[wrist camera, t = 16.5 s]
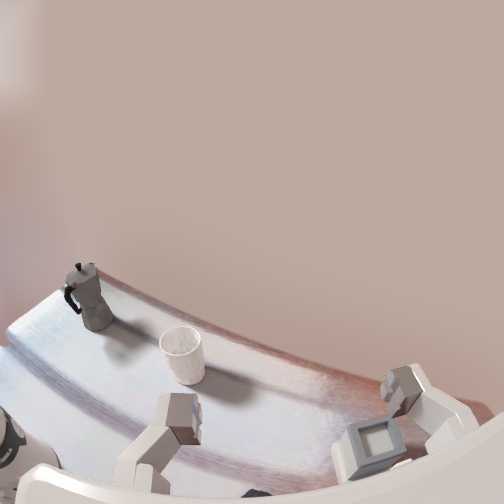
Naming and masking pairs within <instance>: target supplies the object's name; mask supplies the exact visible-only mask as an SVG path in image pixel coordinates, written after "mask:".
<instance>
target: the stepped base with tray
mask: <svg viewBox="0 0 504 504" xmlns="http://www.w3.org/2000/svg"><path fill="white" fill-rule="evenodd" d="M330 449H331V453H332V457H333V462H334V466H335V470H336V475H337V479H338V483H339V485H341V484H345V483H349V482H353V481H356V480H360V479H363V478H367V477H370V476H373V475H376V474H379V473H382V472H385V471H388V470H390V469H391V468H392V464H393V463H395V462H396V461H397V460H398V459H399V458H400V457H401V456H402V455H403V454H404V453H405V452H406V451H407V449H406V446H405V444H404V441H403V439H402V436H401V434H400V431H399V429H398V426H397V424H396V421H395V419H394V418H392V419H391V418H390V416H389V414H388V415H385V416H381V417H378V418H374V419H370V420H366V421H362V422H358V423H354V424H350V425H349V426H348V428H347V429H346V431H345V433H344V435H343V437H342V438H341V440H340V441H339V442H334V443H333V444H332V446H331V448H330Z"/></svg>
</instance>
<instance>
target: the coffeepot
mask: <svg viewBox="0 0 504 504" xmlns="http://www.w3.org/2000/svg"><path fill="white" fill-rule="evenodd" d="M75 266H76V269H75V270H74V271H72V272H70V273H69V274H68V275H67V278H66V281H65V282H66V283H67V285H68V286H67V287H66V288H65V293H64V298H65V300H66V302H67V303H68V304H69V305H70V306H71V307H72V309H73V310H74V311H75V312H76V313H77V314H80V313H81V314H82V318H83V322H84V326H85V327H86V328H87V329H88V330H90V331H99V330H102V329H104V328H106V327H108V326H109V325H110V324H111V322H112V320H113V313H112V312H111V310H110V308H109V307H108V305H107V303H106V302H105V300H104V298H103V297H102V296H101V287H100V282H99V276H98V270H97V267H94V264H93V263H89V264H87V265H85V266H83V267H81V263H77V264H76V265H75ZM71 292H72V294H73V295H74V297H75V299H76V301H78V302H79V303H80V309H78V307H77V305H76V304H75V303H74V302H73V300H72V298H71V296H70V294H71Z"/></svg>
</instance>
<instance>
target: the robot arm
mask: <svg viewBox="0 0 504 504" xmlns="http://www.w3.org/2000/svg"><path fill="white" fill-rule="evenodd" d="M385 376H386V379H385V380H384V381H383V382H382V384H381V386H380V393H381V397H382V399H383V401H385V402H387V407H386V408H387V411H388V413H389V416H390V418H391V419H392V418H395V417H399V416H402V415H405V414H406V415H407V416H408V417H409V418H410V419H412V420H413V421H414V422H415V423H416V424H418V425H419V426H420V427H421V428H423V429H424V430H425V431H426V432H428V433H429V434H430V435H431V437H430V438H429V439H428V440H427V441H426V443H425V447H426V449H427V452H428V455H426V456H423V457H421V458H419V459H417V460H414V461H412V462H409V463H407V464H404V465H402V466H399V467H396V468H394V469H391V470H388V471H385V472H382V473H379V474H376V475H373V476H370V477H367V478H363V479H360V480H356V481H353V482H349V483H345V484H341V485H336V486H332V487H327V488H323V489H317V490H312V491H306V492H300V493H293V494H285V495H277V496H266V497H251V498H199V497H184V496H174V495H170V483H169V481H167V480H166V479H165V478H164V477H163V476H162V475H161V474H160V473H161V472H162V470H163V469H164V468H165V467H166V465H167V464H168V463H169V461H170V460H171V459H172V457H173V456H174V455H175V454H176V452H177V451H178V450H179V448H180V447H181V445H201V430H200V427H199V426H200V425H201V424H202V410H201V405H200V403H198V396H197V394H184V393H162V392H160V394H159V396H158V401H157V406H156V412H155V417H154V423H153V425H149V426H148V427H147V428H146V429H145V430H144V431H143V432H142V433H141V434H140V435H139V436H138V437H137V438H136V439H135V440H134V441H133V442H132V443H131V444H130V445H129V446H128V447H127V448H126V449H125V450H124V451H123V452H122V453H121V454H120V455H119V456H118V457H117V458H116V463H115V468H114V473H113V479H112V484H107V483H103V482H99V481H96V480H92V479H89V478H85V477H82V476H79V475H76V474H73V473H70V472H67V471H65V470H62V469H59V464H58V460H57V457H56V454H55V453H54V451H53V449H52V448H51V447H50V446H49V445H48V444H47V443H46V442H45V441H43V440H41V439H38V438H36V437H34V436H32V435H31V434H29V433H27V432H26V431H25V430H23V429H22V428H21V427H20V425H19V424H18V423H17V422H16V421H15V420H14V419H13V418H12V417H11V416H10V415H9V414H8V413H7V412H6V411H5V410H4V409H3V408H2V407H1V406H0V504H504V411H503V412H501V413H500V414H499V415H497V416H495V417H494V418H492V419H491V420H489V421H488V422H486V423H485V424H483V425H482V426H479V424H478V422H477V420H476V418H475V417H474V415H473V413H472V411H471V409H470V408H469V407H468V406H466V405H465V404H463V403H461V402H459V401H458V400H456V399H454V398H452V397H451V396H449V395H447V394H445V393H444V392H442V391H440V390H439V389H437V388H432V386H431V384H430V382H429V381H428V379H427V377H426V376H425V374H424V372H423V370H422V369H421V367H420V365H419V364H417V363H414V364H411V365H408V366H403V367H400V368H397V369H393V370H389V371H388V372H387V373H386V375H385Z"/></svg>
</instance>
